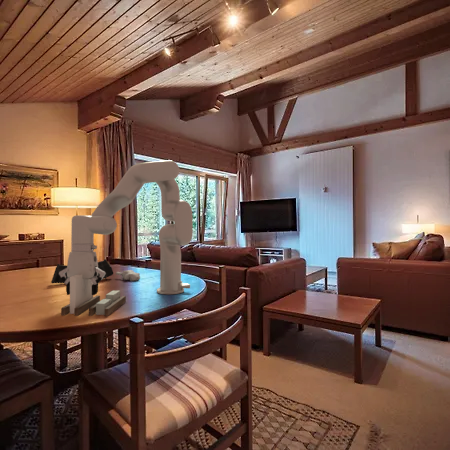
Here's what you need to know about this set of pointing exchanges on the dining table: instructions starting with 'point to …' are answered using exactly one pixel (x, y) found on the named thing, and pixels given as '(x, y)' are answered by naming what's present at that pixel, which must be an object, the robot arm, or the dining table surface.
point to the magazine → (104, 267)
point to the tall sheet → (79, 291)
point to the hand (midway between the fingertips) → (82, 294)
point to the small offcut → (102, 306)
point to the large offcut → (113, 296)
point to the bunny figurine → (129, 275)
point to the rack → (93, 306)
